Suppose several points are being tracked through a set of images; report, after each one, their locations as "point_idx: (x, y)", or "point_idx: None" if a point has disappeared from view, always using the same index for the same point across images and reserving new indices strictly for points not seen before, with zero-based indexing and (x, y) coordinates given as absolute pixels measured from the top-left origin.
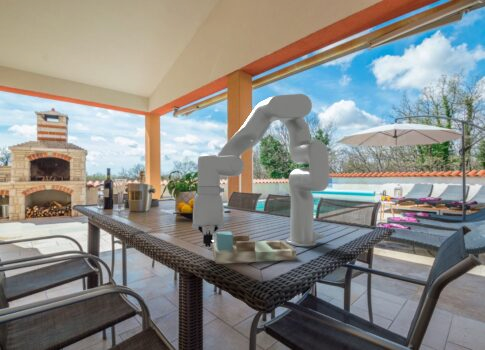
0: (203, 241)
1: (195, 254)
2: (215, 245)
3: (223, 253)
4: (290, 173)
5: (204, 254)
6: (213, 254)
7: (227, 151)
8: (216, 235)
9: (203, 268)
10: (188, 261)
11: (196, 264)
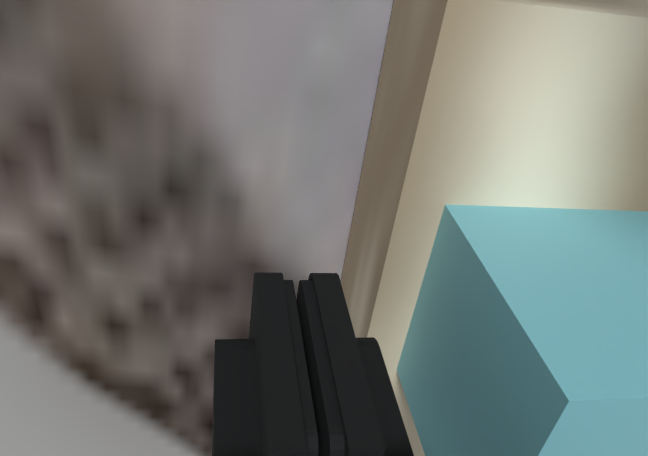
0: (213, 411)
1: (103, 58)
2: (445, 171)
3: (418, 448)
4: None
5: (248, 91)
6: (365, 174)
7: None
8: (524, 338)
9: (199, 443)
10: (34, 298)
11: (135, 374)
